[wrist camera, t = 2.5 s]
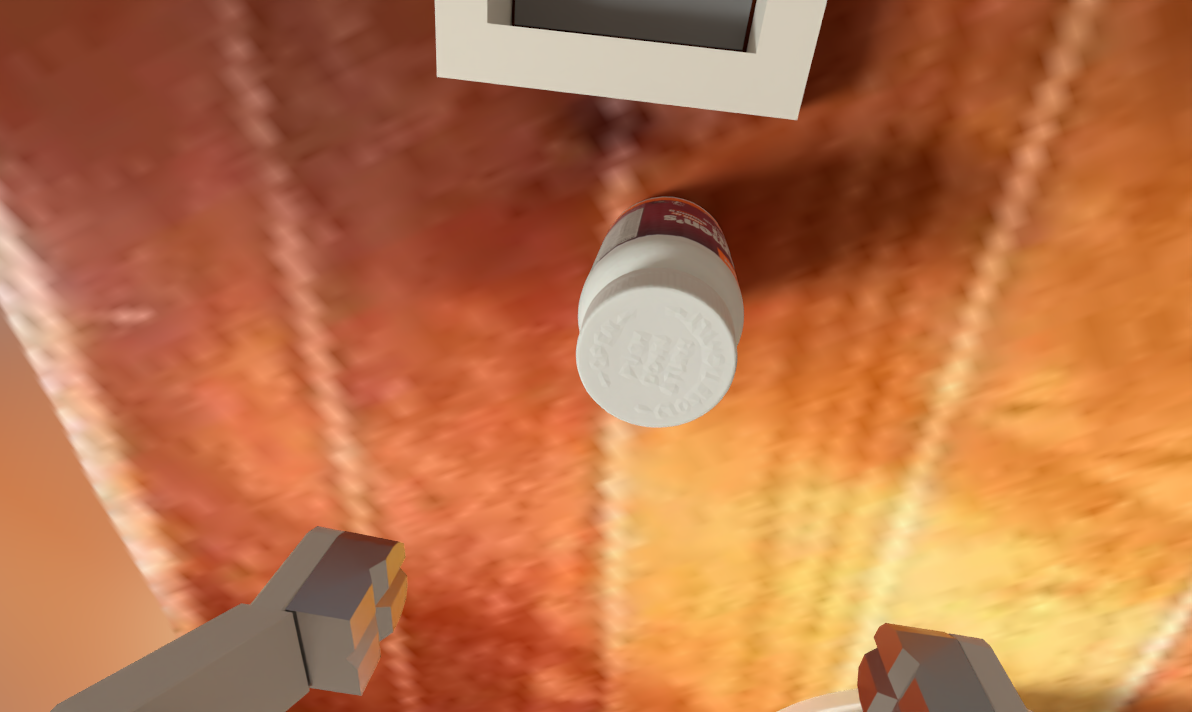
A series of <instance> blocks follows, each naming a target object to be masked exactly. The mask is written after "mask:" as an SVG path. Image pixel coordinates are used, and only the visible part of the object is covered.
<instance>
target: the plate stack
mask: <svg viewBox="0 0 1192 712" xmlns="http://www.w3.org/2000/svg"><path fill="white" fill-rule="evenodd" d="M1027 710H1028V712H1033V711H1031V710H1029V709H1027ZM777 712H863V710H862V707H861V703H860V700H859V693H858V688H857V689H850V690H844V691H839V692H834V693H829V694H825V695H821V696H817V697H814V698H810V699H807V700H804V701H801V702H798V703H796V704H793V705H790V706H788V707H786V708H783V709H781V710H779V711H777Z"/></svg>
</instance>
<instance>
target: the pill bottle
mask: <svg viewBox="0 0 1192 712" xmlns="http://www.w3.org/2000/svg"><path fill="white" fill-rule="evenodd" d="M743 322H744V307H743V300H742V295H741V291H740V287H739V283H738V279H737V275H736V272H735V268H734V265H733V262H732V258H731V255H730V251H729V248H728V246H727V242H726V239H725V237H724V234H723V232H722V230H721V228H720V226H719V225H718V223H717V222H716V220H715V219H714V218H713V217H712V216H711V215H710V214H709V213H708V212H707V211H706V210H704V209H703V208H702V207H700V206H698V205H697V204H695V203H693V202H691V201H688V200H685V199H682V198H677V197H655V198H650V199H646V200H644V201H641V202H639V203H637V204H635V205H633V206H631V207H630V208H628V209H627V210H626V211H624V212H623V213H622V214H621V215H620V216H619V217H618V218H617V219H616V220H615V222H614V223H613V224H612V226H611V228H610V229H609V231H608V233H607V235H606V237H605V239H604V241H603V243H602V246H601V248H600V250H599V253H598V255H597V257H596V260H595V262H594V264H593V266H592V269H591V271H590V273H589V275H588V277H587V279H586V282H585V284H584V287H583V289H582V293H581V297H580V301H579V308H578V324H579V330H580V333H579V337H578V341H577V348H576V361H577V368H578V372H579V375H580V378H581V380H582V383H583V385H584V387H585V389H586V390H587V392H588V393H589V395H590V396H591V397H592V398H593V399H594V401H595V402H596V403H597V404H598V405H600V406H601V407H602V408H603V409H604V410H606V411H607V412H608V413H610V414H611V415H613V416H615V417H617V418H618V419H621V420H623V421H626V422H628V423H631V424H635V425H639V426H645V427H670V426H677V425H681V424H684V423H687V422H690V421H693V420H695V419H697V418H699V417H700V416H702V415H704V414H705V413H707V412H708V411H710V410H711V409H712V408H713V407H714V406H716V405H717V404H718V403H719V401H720V400H721V399H722V398H723V396H724V395H725V394H726V392H727V391H728V389H729V387H730V385H731V383H732V380H733V378H734V374H735V371H736V366H737V345H738V343H739V340H740V337H741V334H742V329H743Z"/></svg>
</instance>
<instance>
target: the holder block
mask: <svg viewBox="0 0 1192 712" xmlns="http://www.w3.org/2000/svg"><path fill="white" fill-rule="evenodd" d="M826 3H827V0H757V1H756V6H755V11H754V16H753V20H752V25H751V30H750V35H749V40H748V45H747V50H746V52H737V51H728V50H719V49H710V48H702V47H693V46H684V45H675V44H666V43H657V42H649V41H640V40H631V39H622V38H613V37H604V36H596V35H587V34H578V33H569V32H560V31H551V30H543V29H534V28H525V27H516V26H512V0H435V23H436V58H437V77H444V78H452V79H460V80H469V81H477V82H485V83H494V84H502V85H510V86H519V87H527V88H535V89H544V90H552V91H560V92H568V93H577V94H585V95H593V96H602V97H610V98H618V99H627V100H635V101H643V102H652V103H660V104H668V105H676V106H685V107H693V108H701V109H710V110H718V111H726V112H735V113H743V114H751V115H760V116H768V117H776V118H784V119H793V120H797V118H798V114H799V110H800V106H801V102H802V98H803V94H804V90H805V86H806V82H807V78H808V74H809V70H810V66H811V62H812V58H813V55H814V51H815V47H816V43H817V39H818V35H819V31H820V27H821V23H822V19H823V15H824V11H825V7H826ZM751 4H752V0H515V25H521V26H530V27H539V28H548V29H557V30H566V31H574V32H583V33H592V34H601V35H610V36H619V37H628V38H636V39H645V40H654V41H663V42H672V43H681V44H690V45H698V46H707V47H716V48H725V49H734V50H742V49H743V44H744V39H745V34H746V29H747V24H748V19H749V14H750V9H751Z"/></svg>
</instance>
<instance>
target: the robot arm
mask: <svg viewBox="0 0 1192 712" xmlns="http://www.w3.org/2000/svg"><path fill="white" fill-rule="evenodd" d="M404 559H405V549H404V543H401V542H398V541H393V540H388V539H383V538H377V537H372V536H367V535H362V534H357V533H352V532H347V531H341V530H335V529H330V528H324V527H319V526H317V527H316V528H314V529H312V530H311V531H309V532H308V533H307V534H306V535H305V537H304V538H303V539H302V540H301V542H300V543H299V544H298V545H297V547H296V548H295V549H294V550H293V552H292V553H291V554H290V555H289V557H288V558H287V559H286V561H285V562H284V563H283V564H282V566H281V567H280V568H279V569H278V571H277V572H276V573H275V574H274V576H273V577H272V578H271V579H270V581H269V582H268V583H267V584H266V586H265V587H264V588H263V589H262V591H261V592H260V593H259V594H258V596H257V597H256V598H255V599H254V601H253V602H252V603H251V604H250V605H249V604H242V603H241V604H239V605H238V606H236V607H234V608H232V609H230V610H229V611H227V612H225V613H223V614H221V615H219V616H218V617H216V618H214V619H212V620H210V621H209V622H207V623H205V624H203V625H201V626H199V627H198V628H196V629H194V630H192V631H190V632H188V633H187V634H185V635H183V636H181V637H179V638H178V639H176V640H174V641H172V642H170V643H168V644H167V645H165V646H163V647H161V648H160V649H158V650H156V651H154V652H152V653H150V654H148V655H147V656H145V657H143V658H142V659H140V660H138V661H136V662H134V663H132V664H130V665H128V666H127V667H125V668H123V669H121V670H119V671H118V672H116V673H114V674H112V675H110V676H108V677H107V678H105V679H103V680H101V681H99V682H97V683H96V684H94V685H92V686H90V687H88V688H87V689H85V690H83V691H81V692H79V693H77V694H76V695H74V696H72V697H70V698H68V699H67V700H65V701H63V702H61V703H59V704H57V705H56V706H55V707H54V708H53V709H52V710H51V712H285V711H286V710H288V709H289V708H290V707H291V706H292V705H294V704H295V703H296V702H297V701H298V700H300V699H301V698H302V697H303V696H304V695H306V694H307V693H308V692H309V688H315V689H321V690H328V691H334V692H341V693H348V694H354V695H362V693H363V691H364V689H365V687H366V685H367V683H368V681H369V679H370V677H371V675H372V673H373V671H374V669H375V667H376V665H377V663H378V661H379V659H380V657H381V653H380V643H379V641H381V640H382V639H384V638H385V637H387V636H388V635H389V634H391V633H392V632H393V631H394V629H395V627H396V625H397V623H398V620H399V618H400V616H401V613H402V610H403V606H404V603H405V600H406V594H407V575H406V574H405V573H404V572H403V570H402V569H401V568H400V566H401V565H402V563H403V561H404ZM874 639H875V642H876V645H877V647H878V648H876V649H874V650H872V651H870V652H868V653H866V654H865V655H864V657H863V659H862V661H861V664H860V666H859V670H858V683H857V686H858V693H859V700H860V703H861V707H862V710H863V712H1028V710H1027V708H1026V707H1025V705H1024V703H1023V702H1022V700H1021V698H1020V696H1019V695H1018V693H1017V691H1016V689H1015V688H1014V686H1013V684H1012V682H1011V681H1010V679H1009V677H1008V676H1007V674H1006V672H1005V670H1004V669H1003V667H1002V665H1001V663H1000V662H999V660H998V658H997V656H996V655H995V653H994V651H993V649H992V648H991V647H990V645H989V644H987V643H986V642H985V641H984V640H983V639H979V638H973V637H967V636H961V635H955V634H947V633H945V632H940V631H934V630H927V629H921V628H914V627H908V626H902V625H895V624H889V623H885V624H884V625H882V626H880V627H879V628H878V630H877V632H876V634H875V636H874Z"/></svg>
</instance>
